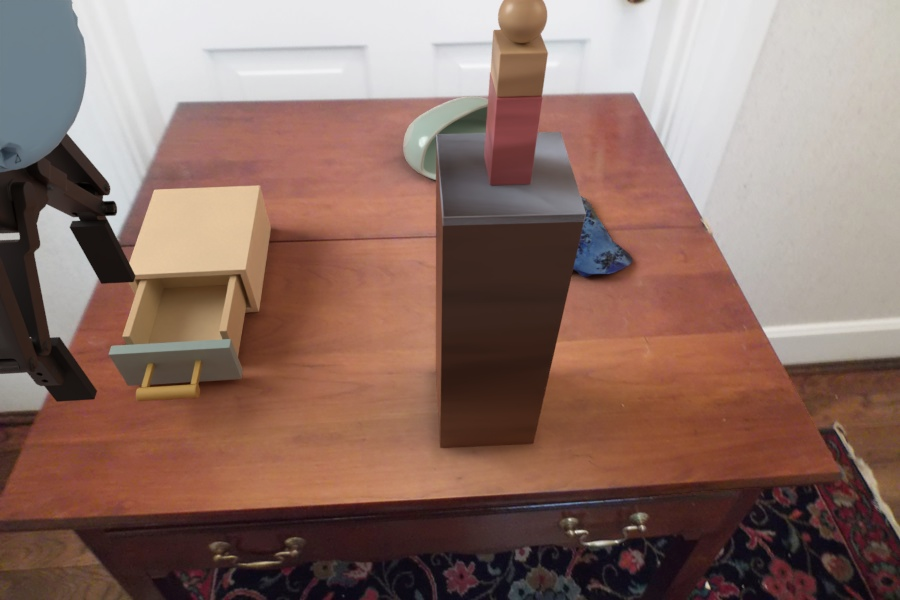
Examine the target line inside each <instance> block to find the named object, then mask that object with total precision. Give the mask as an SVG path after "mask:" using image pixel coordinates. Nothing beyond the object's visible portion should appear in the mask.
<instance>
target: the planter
mask: <svg viewBox="0 0 900 600" xmlns="http://www.w3.org/2000/svg"><path fill="white" fill-rule="evenodd" d="M487 109H488V98H486V97H481V96H471V95H469V96H462V97H457V98H454V99H450V100H447V101H445V102H443V103H440V104H438V105H436V106H434V107H432V108H430V109H428V110H426V111H424V112H423V113H421V114H420V115H419V116H417V117H416V118H415V119H413V121H411V123H410V124H409V125H408V127H407V129H406V131H405V133H404V136H403V143H402V151H403V156H404V158H405V161H406V163H407V164H408V166H409V167H410V168H411V169H413V171H415V172H416V173H418V174H419V175H421V176H423V177H425V178H428V179H430V180H433V181H436V134H481V133H486V123H487Z"/></svg>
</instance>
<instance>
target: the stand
mask: <svg viewBox="0 0 900 600" xmlns="http://www.w3.org/2000/svg"><path fill="white" fill-rule="evenodd" d="M485 138H486V133H481V134H436V180H435V382H436V400H437V402H436V403H437V416H438V417H437V418H438V435H439V448H440V449H441V448H463V447H481V446H482V447H484V446H485V447H486V446H487V447H488V446H503V445H504V446H505V445H526V444H528V445H529V444H534V443H535V440H536V439H535V438H536V434H537V429H538V426H539V422H540V417H541V413H542V408H543V404H544V399H545V395H546V390H547V386H548V383H549V382H548V381H549V378H550V372H551V368H552V364H553V360H554V355H555V351H556V346H557V342H558V337H559V334H560V330H561V325H562V322H563V321H562V320H563V317H564V312H565V306H566V303H567V299H568V294H569V290H570V285H571V281H572V277H573V272H574V270H573V268H574V264H575V259H576V255H577V250H578V246H579V242H580V237H581V233H582V229H583V224H584V220H585V216H586V212H585V209H584V206H583V202H582V199H581V196H582V195H581V192H580V190H579V185H578V183H577V179H576V177H575V173H574V170H573V167H572V163H571V161H570V157H569V154H568V151H567V147H566V144H565V141H564V138H563V135H562V132H561V131H541V132H540V131H538V134H537V141H536V148H535V156H534V163H533V170H532V177H531V183H530V184H514V185H490V183H489V178H488V173H487V168H486V163H485V158H484V153H485Z"/></svg>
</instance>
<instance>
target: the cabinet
mask: <svg viewBox="0 0 900 600" xmlns="http://www.w3.org/2000/svg"><path fill="white" fill-rule="evenodd" d="M271 231H272V227H271V223H270V219H269V215H268V211H267V207H266V203H265V199H264V196H263V191H262V187H261V185H259V184H257V185H237V186H236V185H233V186H212V187H211V186H210V187H188V188H187V187H186V188H185V187H183V188H162V189H160V188H159V189H158V188H157V189H153V192H152V195H151V198H150V200H149V204H148V207H147V210H146V213H145V216H144V218H143V221H142V224H141V227H140V230H139V233H138V236H137V239H136V242H135V244H134V247H133V250H132V254H131V256H130V259H129V261H128V262H129V264H130V266H131V268H132V270H133V272H134V274H135V279H134V282H128V284H129V287H130V288H131V290H132V292H133V294H134V296H135V295H136V292H137V289H138V285H139V282H140V279H153V278H173V277H193V276H213V275H233V274H241V277H242V281H243V284H244V287H245V290H246V293H247V296H248V298H247V304H246V310H245V314H246V313H259V312H260V307H261V301H262V295H263V286H264V280H265V273H266V265H267V258H268V251H269V244H270V239H271V238H270V237H271Z"/></svg>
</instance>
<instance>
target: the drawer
mask: <svg viewBox="0 0 900 600" xmlns="http://www.w3.org/2000/svg"><path fill="white" fill-rule="evenodd" d="M247 298H248V296H247V293H246V290H245V287H244V284H243V281H242V277H241V274H233V275H213V276H193V277H173V278H153V279H140V282H139V285H138V289H137V292H136V295H135V294H134V298H133V301H132V304H131V308H130V311H129V314H128V317H127V320H126V323H125V327H124V330H123V332H122V335H121V338H122V339H123V341H124V342H125V344H119V345H117V344H116V345H111V346H110V349H109V352H108V356H109V358H110V360H111V361H112V363H113V365H114V366H115V367H116V369H117V370H118V372H119V374H120V375H121V377H122V379H123V380H124V382H125V383H126V385H127V386H128V387H134V386H140V387H138V388H136V391H135V399H136V401H137V402H152V401H167V400H185V399H198V398H200V395H201V394H200V393H201V389H200V385H199V383H200V382H215V381H229V380H230V381H231V380H232V381H233V380H242V379H243V373H244V370H243V367H242V364H241V362H240V359H239V354H240V347H241V340H242V335H243V328H244V322H245V315H246V313H245V310H246V304H247ZM180 383H181V384H180ZM182 383H184V384H182ZM185 383H190V384H185ZM165 384H166V385H165ZM167 384H180V385H167ZM151 385H161V386H151Z"/></svg>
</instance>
